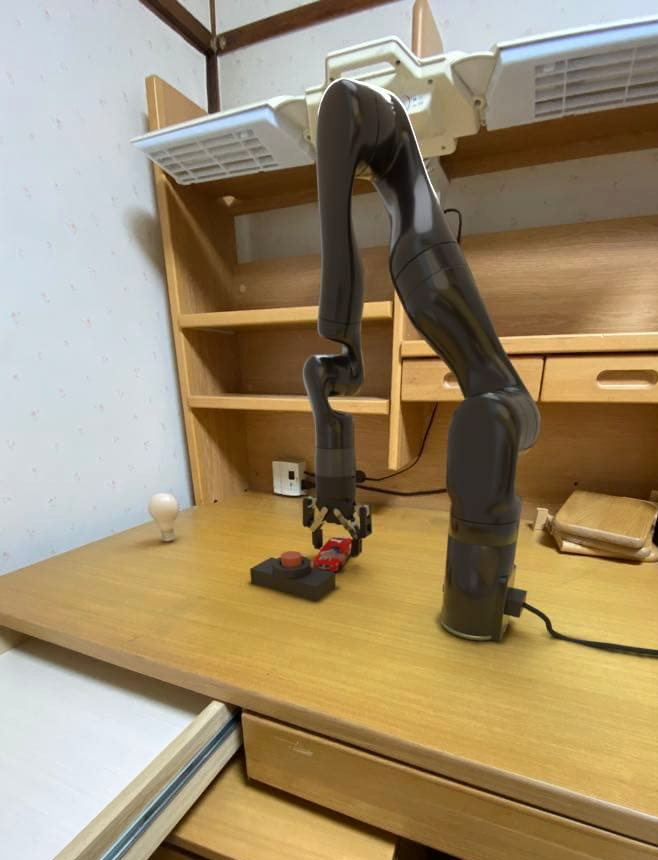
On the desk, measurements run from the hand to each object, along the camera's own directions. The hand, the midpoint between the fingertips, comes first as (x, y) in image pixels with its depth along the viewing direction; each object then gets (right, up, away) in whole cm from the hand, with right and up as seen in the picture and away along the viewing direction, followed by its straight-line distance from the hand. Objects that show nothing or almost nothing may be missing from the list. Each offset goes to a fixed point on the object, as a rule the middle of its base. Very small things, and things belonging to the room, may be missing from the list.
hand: (336, 552), depth 90 cm
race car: (0, -2, +1) cm, 2 cm away
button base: (-8, -6, -9) cm, 13 cm away
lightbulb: (-37, +2, +12) cm, 39 cm away
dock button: (-8, -2, -11) cm, 13 cm away
